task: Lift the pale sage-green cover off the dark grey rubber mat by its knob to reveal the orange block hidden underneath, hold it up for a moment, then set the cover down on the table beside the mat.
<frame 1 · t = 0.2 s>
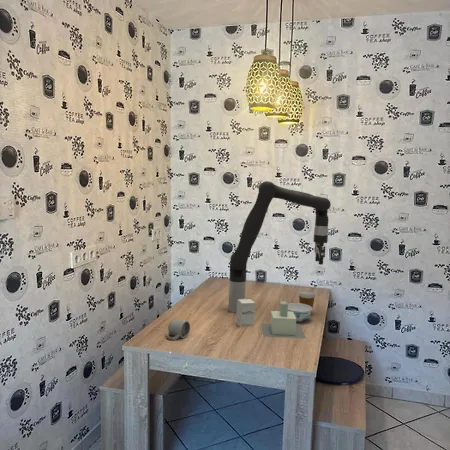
hand: (319, 262, 240), 29 cm above the table, tool pointing down, fingers open, 8 cm apart
chinaware: (297, 321, 230), on the table
supplement box: (244, 325, 221), on the table
ceramic mug: (177, 337, 201), on the table
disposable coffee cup: (305, 313, 244), on the table
orange block: (282, 330, 212), point 1 cm above the table, touching grey mat
grey mat: (282, 332, 212), on the table
sage cover: (282, 330, 212), point 1 cm above the table, touching grey mat
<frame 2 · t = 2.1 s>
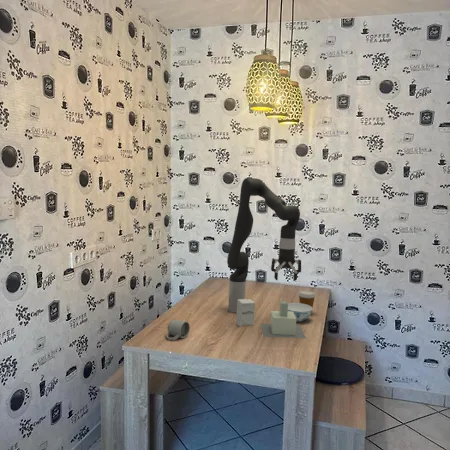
hand: (285, 280, 209), 26 cm above the table, tool pointing down, fingers open, 8 cm apart
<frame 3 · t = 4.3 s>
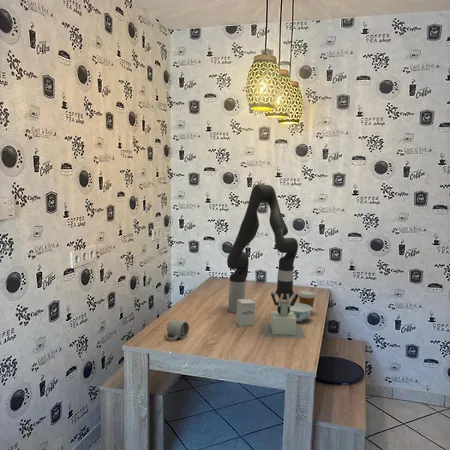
hand: (283, 313, 211), 10 cm above the table, tool pointing down, fingers closed on sage cover, 3 cm apart
sage cover: (282, 330, 212), point 1 cm above the table, touching grey mat, gripper
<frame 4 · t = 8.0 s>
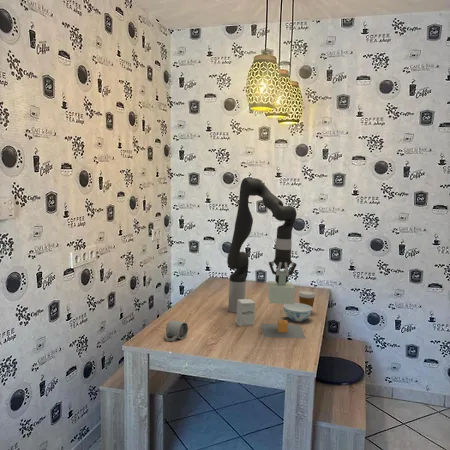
hand: (281, 282, 209), 25 cm above the table, tool pointing down, fingers closed on sage cover, 3 cm apart
sage cover: (280, 300, 210), point 16 cm above the table, touching gripper
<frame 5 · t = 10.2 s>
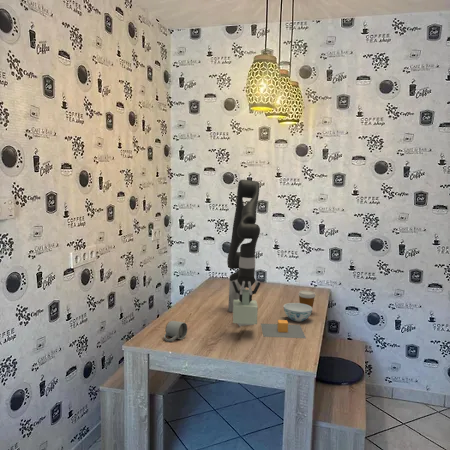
hand: (245, 301, 204), 16 cm above the table, tool pointing down, fingers closed on sage cover, 3 cm apart
sage cover: (244, 319, 205), point 8 cm above the table, touching gripper
when the fingers open (10 cm above the table, at t = 11.8 s): sage cover drops 1 cm, on the table.
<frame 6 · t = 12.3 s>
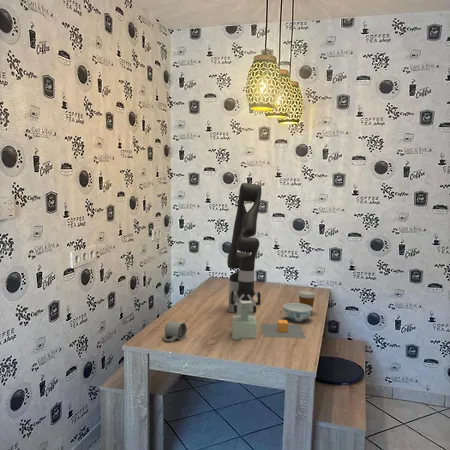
hand: (244, 312, 205), 11 cm above the table, tool pointing down, fingers open, 8 cm apart
sage cover: (243, 335, 206), on the table
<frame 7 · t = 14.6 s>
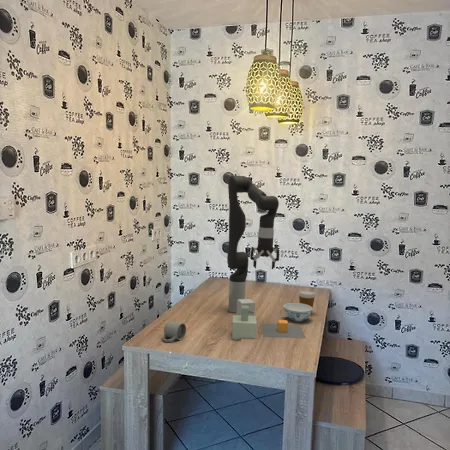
hand: (263, 268, 216), 30 cm above the table, tool pointing down, fingers open, 8 cm apart
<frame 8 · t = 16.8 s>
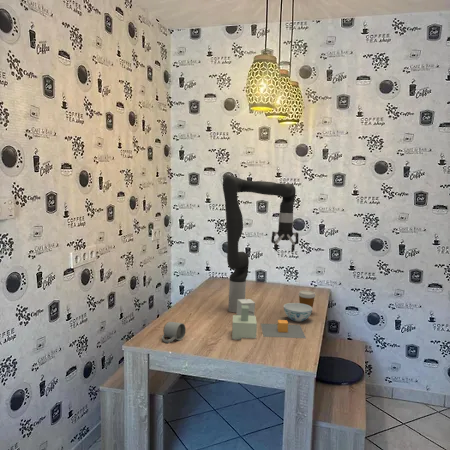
hand: (284, 251, 232), 36 cm above the table, tool pointing down, fingers open, 8 cm apart
at the end: sage cover inside the target area (0.1 cm from its centre), on the table; sage cover tilted 0°; sage cover touching table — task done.
